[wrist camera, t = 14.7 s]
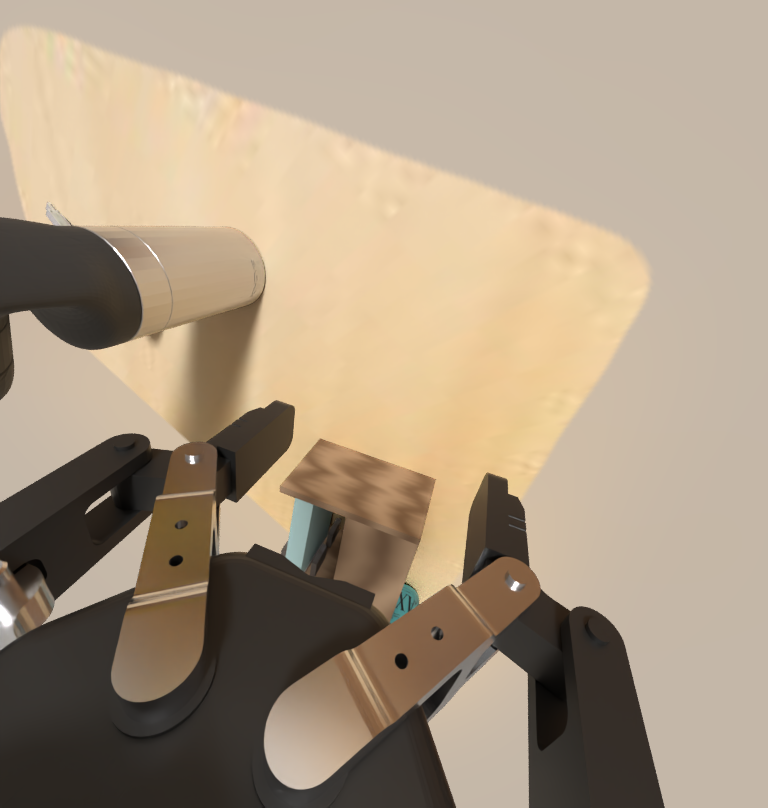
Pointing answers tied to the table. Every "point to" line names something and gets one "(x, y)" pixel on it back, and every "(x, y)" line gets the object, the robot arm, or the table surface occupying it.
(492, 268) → the table surface
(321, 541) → the door
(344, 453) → the cabinet
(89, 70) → the table surface
